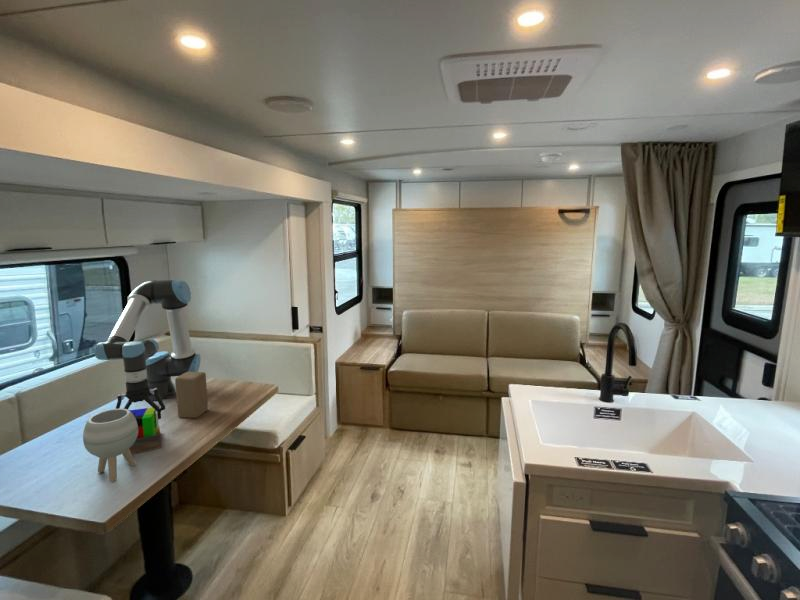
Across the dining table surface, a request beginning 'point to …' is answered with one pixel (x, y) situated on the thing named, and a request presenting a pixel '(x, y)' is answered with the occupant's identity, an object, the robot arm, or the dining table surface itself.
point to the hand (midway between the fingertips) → (141, 429)
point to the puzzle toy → (145, 422)
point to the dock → (146, 443)
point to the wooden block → (191, 394)
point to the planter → (111, 438)
